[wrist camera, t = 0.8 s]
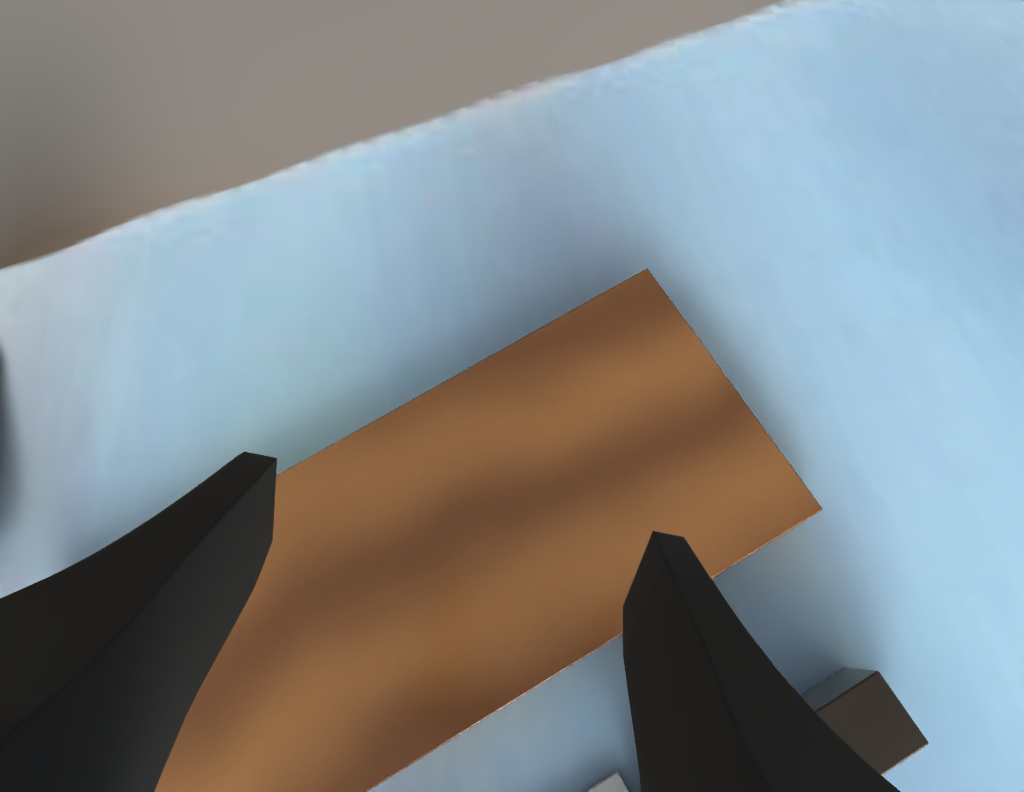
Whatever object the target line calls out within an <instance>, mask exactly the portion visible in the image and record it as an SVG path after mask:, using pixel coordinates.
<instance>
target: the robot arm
mask: <svg viewBox="0 0 1024 792" xmlns="http://www.w3.org/2000/svg"><path fill="white" fill-rule="evenodd" d="M276 468H277V458H274V457H269V456H264V455H259V454H254V453H248V452H243V453H241V454H240V455H238V456H237V457H235V458H234V459H233V460H231V461H230V462H229V463H227V464H226V465H225V466H223V467H222V468H221V469H219V470H218V471H217V472H216V473H214V474H213V475H212V476H210V477H209V478H208V479H206V480H205V481H204V482H202V483H201V484H199V485H198V486H197V487H195V488H194V489H193V490H191V491H190V492H189V493H187V494H186V495H184V496H183V497H181V498H180V499H179V500H177V501H176V502H174V503H173V504H171V505H170V506H169V507H167V508H166V509H164V510H163V511H161V512H160V513H159V514H157V515H156V516H154V517H153V518H151V519H150V520H148V521H146V522H145V523H143V524H142V525H140V526H139V527H137V528H135V529H134V530H132V531H131V532H129V533H127V534H126V535H124V536H123V537H121V538H120V539H118V540H116V541H115V542H113V543H111V544H110V545H108V546H106V547H105V548H103V549H101V550H99V551H98V552H96V553H94V554H92V555H91V556H89V557H87V558H85V559H83V560H81V561H80V562H78V563H76V564H74V565H72V566H70V567H68V568H66V569H64V570H62V571H60V572H58V573H56V574H54V575H52V576H50V577H48V578H46V579H43V580H41V581H39V582H37V583H34V584H32V585H30V586H28V587H26V588H23V589H21V590H19V591H17V592H14V593H12V594H10V595H8V596H5V597H3V598H1V599H0V792H154V791H155V789H156V786H157V784H158V781H159V779H160V776H161V774H162V772H163V769H164V767H165V764H166V762H167V760H168V757H169V755H170V753H171V750H172V748H173V745H174V743H175V741H176V738H177V736H178V734H179V731H180V729H181V727H182V724H183V722H184V720H185V717H186V715H187V713H188V711H189V709H190V707H191V705H192V703H193V701H194V699H195V697H196V695H197V693H198V691H199V689H200V687H201V685H202V683H203V682H204V680H205V678H206V676H207V674H208V672H209V671H210V669H211V667H212V665H213V663H214V662H215V660H216V658H217V656H218V654H219V652H220V651H221V649H222V647H223V645H224V643H225V641H226V640H227V638H228V636H229V634H230V632H231V630H232V629H233V627H234V625H235V623H236V621H237V619H238V618H239V616H240V614H241V612H242V610H243V608H244V606H245V605H246V603H247V601H248V599H249V597H250V595H251V593H252V591H253V590H254V587H255V585H256V582H257V580H258V577H259V575H260V573H261V570H262V568H263V565H264V562H265V560H266V557H267V554H268V552H269V549H270V547H271V544H272V541H273V527H274V507H275V488H276ZM623 657H624V665H625V672H626V680H627V687H628V695H629V702H630V709H631V716H632V723H633V730H634V737H635V744H636V751H637V758H638V765H639V774H640V784H641V792H900V791H899V790H898V789H897V788H896V787H894V786H893V785H892V784H891V783H890V782H888V781H887V780H886V779H885V778H884V777H883V776H881V775H880V774H879V773H878V772H877V771H876V770H875V769H874V768H872V767H871V766H870V765H869V764H868V763H867V762H866V761H865V760H864V759H862V758H861V757H860V756H859V755H858V754H857V753H856V752H855V751H854V750H853V749H852V748H851V747H850V746H849V745H848V744H847V743H846V742H845V741H844V740H843V739H842V738H840V737H839V736H838V735H837V734H836V733H835V732H834V731H833V730H832V729H831V728H830V727H829V726H828V725H827V724H826V723H825V722H824V721H823V720H822V719H821V718H820V717H819V716H818V715H817V713H816V712H815V711H814V710H813V709H812V708H811V707H810V706H809V705H808V704H807V703H806V701H805V700H804V699H803V698H802V697H801V696H800V695H799V694H798V693H797V692H796V690H795V689H794V688H793V687H792V686H791V685H790V684H789V683H788V681H787V680H786V679H785V678H784V677H783V676H782V674H781V673H780V672H779V671H778V670H777V668H776V667H775V666H774V665H773V663H772V662H771V661H770V660H769V658H768V657H767V656H766V655H765V653H764V652H763V651H762V649H761V648H760V647H759V646H758V644H757V643H756V642H755V641H754V639H753V638H752V636H751V635H750V634H749V632H748V631H747V630H746V628H745V627H744V626H743V624H742V623H741V622H740V620H739V619H738V617H737V616H736V615H735V613H734V612H733V610H732V609H731V607H730V606H729V604H728V603H727V602H726V600H725V599H724V597H723V596H722V594H721V593H720V591H719V590H718V588H717V587H716V585H715V584H714V582H713V581H712V579H711V578H710V576H709V575H708V573H707V572H706V570H705V569H704V567H703V565H702V564H701V562H700V561H699V559H698V558H697V556H696V555H695V553H694V552H693V550H692V548H691V547H690V545H689V544H688V542H687V541H686V539H685V538H684V537H682V536H677V535H672V534H667V533H661V532H656V531H653V532H652V534H651V537H650V539H649V542H648V544H647V547H646V549H645V552H644V554H643V557H642V559H641V562H640V564H639V567H638V569H637V572H636V574H635V577H634V579H633V582H632V584H631V587H630V589H629V592H628V594H627V597H626V599H625V602H624V604H623Z"/></svg>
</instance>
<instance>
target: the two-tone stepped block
mask: <svg viewBox="0 0 1024 792" xmlns="http://www.w3.org/2000/svg"><path fill="white" fill-rule="evenodd" d="M801 697H802V698H803V699H804V700H805V701H806V703H807V704H808V705H809V706H810V707H811V708H812V709H813V710H814V711H815V712H816V713H817V715H818V716H819V717H820V718H821V719H822V720H823V721H824V722H825V723H826V724H827V725H828V726H829V727H830V728H831V729H832V730H833V731H834V732H835V733H836V734H837V735H838V736H839V737H840V738H842V739H843V740H844V741H845V742H846V743H847V744H848V745H849V746H850V747H851V748H852V749H853V750H854V751H855V752H856V753H857V754H858V755H859V756H860V757H861V758H862V759H864V760H865V761H866V762H867V763H868V764H869V765H870V766H871V767H872V768H874V769H875V770H876V771H877V772H878V773H879V774H880V775H881V776H882V775H883V774H885V773H886V772H888V771H889V770H891V769H892V768H894V767H895V766H897V765H898V764H900V763H901V762H903V761H904V760H906V759H907V758H908V757H910V756H911V755H913V754H914V753H916V752H917V751H919V750H920V749H922V748H923V747H925V746H926V745H928V741H927V740H926V738H925V737H924V735H923V734H922V733H921V731H920V730H919V728H918V727H917V725H916V724H915V723H914V721H913V720H912V718H911V717H910V715H909V714H908V713H907V711H906V710H905V708H904V707H903V705H902V704H901V703H900V701H899V700H898V698H897V697H896V695H895V694H894V693H893V691H892V690H891V688H890V687H889V685H888V684H887V683H886V681H885V680H884V678H883V677H882V675H881V674H880V673H879V672H878V671H874V670H865V669H857V668H848V667H844V668H842V669H841V670H839V671H838V672H836V673H835V674H833V675H832V676H830V677H829V678H827V679H825V680H824V681H822V682H821V683H819V684H818V685H816V686H815V687H813V688H812V689H810V690H809V691H807V692H805V693H804V694H802V695H801ZM585 792H629V790H628V789H627V787H626V785H625V783H624V782H623V780H622V778H621V776H620V774H619V773H618V771H616V772H614V773H613V774H611V775H610V776H608V777H607V778H605V779H604V780H602V781H600V782H599V783H597V784H596V785H594V786H593V787H591V788H589V789H588V790H586V791H585ZM640 792H641V791H640Z"/></svg>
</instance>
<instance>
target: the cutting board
mask: <svg viewBox="0 0 1024 792" xmlns="http://www.w3.org/2000/svg"><path fill="white" fill-rule="evenodd" d="M820 511H822V508H821V506H820V505H819V504H818V502H817V501H816V499H815V498H814V497H813V495H812V494H811V493H810V491H809V490H808V488H807V487H806V486H805V484H804V483H803V482H802V480H801V479H800V477H799V476H798V475H797V473H796V472H795V471H794V469H793V468H792V466H791V465H790V464H789V462H788V461H787V460H786V458H785V457H784V455H783V454H782V453H781V451H780V450H779V449H778V447H777V446H776V444H775V443H774V442H773V440H772V439H771V438H770V436H769V435H768V433H767V432H766V431H765V429H764V428H763V427H762V425H761V424H760V422H759V421H758V420H757V418H756V417H755V416H754V414H753V413H752V411H751V410H750V409H749V407H748V406H747V405H746V403H745V402H744V400H743V399H742V398H741V396H740V395H739V394H738V392H737V391H736V389H735V388H734V387H733V385H732V384H731V383H730V381H729V380H728V378H727V377H726V376H725V374H724V373H723V372H722V370H721V369H720V367H719V366H718V365H717V363H716V362H715V361H714V359H713V358H712V356H711V355H710V354H709V352H708V351H707V350H706V348H705V347H704V345H703V344H702V343H701V341H700V340H699V339H698V337H697V336H696V334H695V333H694V332H693V330H692V329H691V328H690V326H689V325H688V323H687V322H686V321H685V319H684V318H683V317H682V315H681V314H680V312H679V311H678V310H677V308H676V307H675V306H674V304H673V303H672V301H671V300H670V299H669V297H668V296H667V295H666V293H665V292H664V290H663V289H662V288H661V286H660V285H659V284H658V282H657V281H656V279H655V278H654V277H653V275H652V274H651V273H650V271H649V270H648V269H645V270H643V271H641V272H640V273H638V274H636V275H634V276H632V277H631V278H629V279H627V280H625V281H624V282H622V283H620V284H618V285H616V286H615V287H613V288H611V289H609V290H607V291H606V292H604V293H602V294H600V295H599V296H597V297H595V298H593V299H591V300H590V301H588V302H586V303H584V304H582V305H581V306H579V307H577V308H575V309H574V310H572V311H570V312H568V313H566V314H565V315H563V316H561V317H559V318H557V319H556V320H554V321H552V322H550V323H549V324H547V325H545V326H543V327H541V328H540V329H538V330H536V331H534V332H532V333H531V334H529V335H527V336H525V337H524V338H522V339H520V340H518V341H516V342H515V343H513V344H511V345H509V346H507V347H506V348H504V349H502V350H500V351H499V352H497V353H495V354H493V355H491V356H490V357H488V358H486V359H484V360H482V361H481V362H479V363H477V364H475V365H474V366H472V367H470V368H468V369H466V370H465V371H463V372H461V373H459V374H457V375H456V376H454V377H452V378H450V379H449V380H447V381H445V382H443V383H441V384H440V385H438V386H436V387H434V388H432V389H431V390H429V391H427V392H425V393H424V394H422V395H420V396H418V397H416V398H415V399H413V400H411V401H409V402H407V403H406V404H404V405H402V406H400V407H399V408H397V409H395V410H393V411H391V412H390V413H388V414H386V415H384V416H382V417H381V418H379V419H377V420H375V421H374V422H372V423H370V424H368V425H366V426H365V427H363V428H361V429H359V430H357V431H356V432H354V433H352V434H350V435H349V436H347V437H345V438H343V439H341V440H340V441H338V442H336V443H334V444H332V445H331V446H329V447H327V448H325V449H324V450H322V451H320V452H318V453H316V454H315V455H313V456H311V457H309V458H307V459H306V460H304V461H302V462H300V463H299V464H297V465H295V466H293V467H291V468H290V469H288V470H286V471H284V472H282V473H281V474H279V475H277V476H276V488H275V507H274V527H273V541H272V544H271V547H270V549H269V552H268V554H267V557H266V560H265V562H264V565H263V568H262V570H261V573H260V575H259V577H258V580H257V582H256V585H255V587H254V590H253V591H252V593H251V595H250V597H249V599H248V601H247V603H246V605H245V606H244V608H243V610H242V612H241V614H240V616H239V618H238V619H237V621H236V623H235V625H234V627H233V629H232V630H231V632H230V634H229V636H228V638H227V640H226V641H225V643H224V645H223V647H222V649H221V651H220V652H219V654H218V656H217V658H216V660H215V662H214V663H213V665H212V667H211V669H210V671H209V672H208V674H207V676H206V678H205V680H204V682H203V683H202V685H201V687H200V689H199V691H198V693H197V695H196V697H195V699H194V701H193V703H192V705H191V707H190V709H189V711H188V713H187V715H186V717H185V720H184V722H183V724H182V727H181V729H180V731H179V734H178V736H177V738H176V741H175V743H174V745H173V748H172V750H171V753H170V755H169V757H168V760H167V762H166V764H165V767H164V769H163V772H162V774H161V776H160V779H159V781H158V784H157V786H156V789H155V791H154V792H367V791H369V790H371V789H372V788H374V787H376V786H377V785H379V784H380V783H382V782H384V781H385V780H387V779H388V778H390V777H392V776H393V775H395V774H397V773H398V772H400V771H401V770H403V769H405V768H406V767H408V766H409V765H411V764H413V763H414V762H416V761H418V760H419V759H421V758H422V757H424V756H426V755H427V754H429V753H431V752H432V751H434V750H435V749H437V748H439V747H440V746H442V745H443V744H445V743H447V742H448V741H450V740H452V739H453V738H455V737H456V736H458V735H460V734H461V733H463V732H464V731H466V730H468V729H469V728H471V727H473V726H474V725H476V724H477V723H479V722H481V721H482V720H484V719H485V718H487V717H489V716H490V715H492V714H494V713H495V712H497V711H498V710H500V709H502V708H503V707H505V706H506V705H508V704H510V703H511V702H513V701H515V700H516V699H518V698H519V697H521V696H523V695H524V694H526V693H528V692H529V691H531V690H532V689H534V688H536V687H537V686H539V685H540V684H542V683H544V682H545V681H547V680H549V679H550V678H552V677H553V676H555V675H557V674H558V673H560V672H561V671H563V670H565V669H566V668H568V667H570V666H571V665H573V664H574V663H576V662H578V661H579V660H581V659H582V658H584V657H586V656H587V655H589V654H591V653H592V652H594V651H595V650H597V649H599V648H600V647H602V646H603V645H605V644H607V643H608V642H610V641H612V640H613V639H615V638H616V637H618V636H620V635H621V634H623V604H624V602H625V599H626V597H627V594H628V592H629V589H630V587H631V584H632V582H633V579H634V577H635V574H636V572H637V569H638V567H639V564H640V562H641V559H642V557H643V554H644V552H645V549H646V547H647V544H648V542H649V539H650V537H651V534H652V532H653V531H656V532H661V533H667V534H672V535H677V536H682V537H684V538H685V539H686V541H687V542H688V544H689V545H690V547H691V548H692V550H693V552H694V553H695V555H696V556H697V558H698V559H699V561H700V562H701V564H702V565H703V567H704V569H705V570H706V572H707V573H708V575H709V576H710V578H711V579H712V578H713V577H715V576H717V575H718V574H720V573H721V572H723V571H725V570H726V569H728V568H730V567H731V566H733V565H734V564H736V563H738V562H739V561H741V560H743V559H744V558H746V557H747V556H749V555H751V554H752V553H754V552H755V551H757V550H759V549H760V548H762V547H764V546H765V545H767V544H768V543H770V542H772V541H773V540H775V539H776V538H778V537H780V536H781V535H783V534H785V533H786V532H788V531H789V530H791V529H793V528H794V527H796V526H797V525H799V524H801V523H802V522H804V521H806V520H807V519H809V518H810V517H812V516H814V515H815V514H817V513H818V512H820Z"/></svg>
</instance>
